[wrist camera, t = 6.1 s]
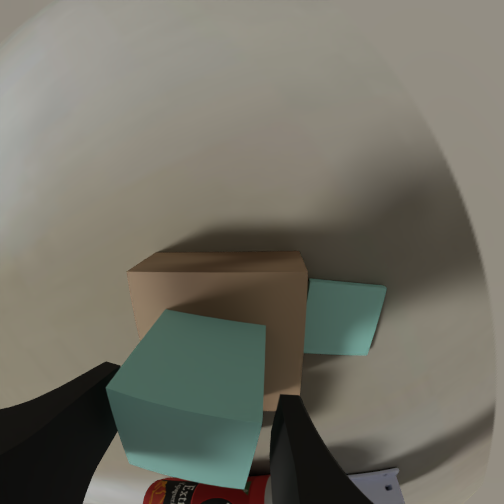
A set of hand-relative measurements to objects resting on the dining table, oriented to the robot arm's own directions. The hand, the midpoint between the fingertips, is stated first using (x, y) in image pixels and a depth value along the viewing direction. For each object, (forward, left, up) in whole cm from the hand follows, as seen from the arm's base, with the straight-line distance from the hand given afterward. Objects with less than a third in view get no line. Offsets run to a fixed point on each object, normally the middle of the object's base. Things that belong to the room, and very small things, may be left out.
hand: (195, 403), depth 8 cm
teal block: (0, 0, -3) cm, 3 cm away
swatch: (-6, -1, -6) cm, 8 cm away
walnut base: (0, 0, -6) cm, 6 cm away
